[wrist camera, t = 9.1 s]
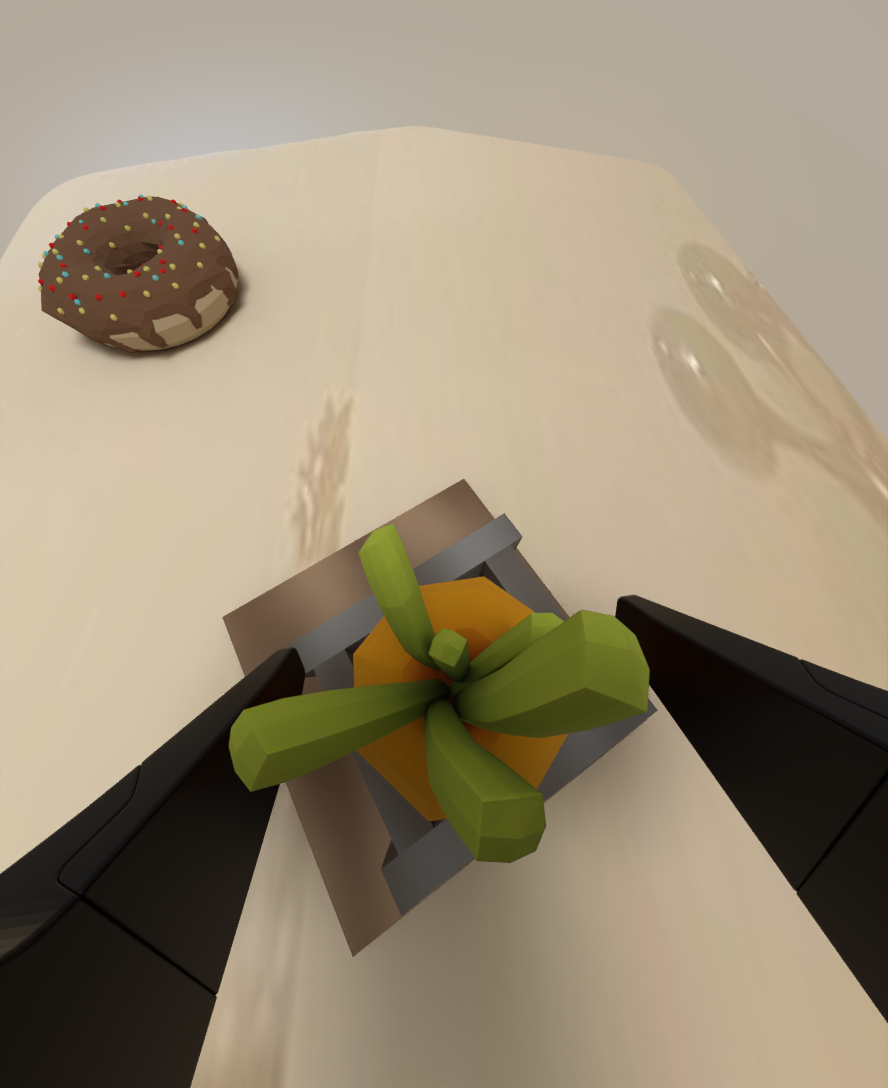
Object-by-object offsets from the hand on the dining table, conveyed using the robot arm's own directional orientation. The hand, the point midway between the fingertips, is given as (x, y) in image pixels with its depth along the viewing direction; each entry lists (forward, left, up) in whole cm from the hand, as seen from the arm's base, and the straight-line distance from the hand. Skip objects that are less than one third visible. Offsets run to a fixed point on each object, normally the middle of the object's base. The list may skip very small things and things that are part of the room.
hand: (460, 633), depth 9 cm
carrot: (-1, -1, -9) cm, 9 cm away
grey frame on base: (-2, 0, -9) cm, 10 cm away
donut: (-6, +37, -10) cm, 39 cm away
